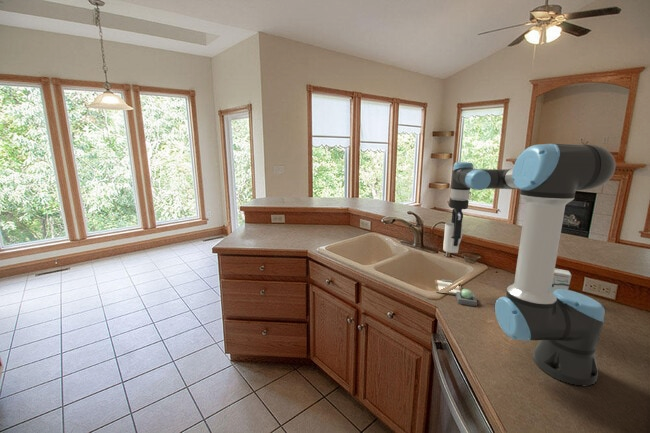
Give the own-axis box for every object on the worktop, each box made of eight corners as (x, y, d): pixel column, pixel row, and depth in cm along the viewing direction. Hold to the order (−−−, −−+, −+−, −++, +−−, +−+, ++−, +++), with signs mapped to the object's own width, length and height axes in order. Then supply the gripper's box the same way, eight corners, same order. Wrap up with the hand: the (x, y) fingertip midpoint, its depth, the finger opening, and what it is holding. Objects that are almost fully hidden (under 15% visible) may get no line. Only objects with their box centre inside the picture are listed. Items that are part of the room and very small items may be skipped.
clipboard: (463, 296, 131) (463, 293, 131) (436, 292, 134) (436, 290, 134) (459, 283, 144) (459, 281, 143) (434, 280, 147) (435, 278, 146)
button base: (476, 306, 124) (477, 301, 123) (457, 303, 126) (458, 299, 125) (473, 298, 130) (473, 293, 130) (455, 295, 132) (456, 291, 132)
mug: (451, 254, 130) (454, 227, 127) (439, 249, 136) (441, 223, 133) (467, 250, 135) (470, 224, 132) (454, 246, 140) (457, 221, 138)
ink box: (542, 295, 134) (547, 270, 131) (540, 290, 138) (545, 266, 135) (566, 300, 130) (572, 274, 127) (564, 295, 134) (569, 270, 131)
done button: (472, 300, 125) (473, 294, 125) (461, 298, 126) (462, 292, 126) (470, 295, 129) (471, 289, 128) (460, 294, 130) (461, 288, 129)
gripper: (472, 203, 119) (465, 258, 124) (465, 195, 138) (459, 243, 143) (452, 202, 121) (446, 256, 126) (447, 194, 140) (442, 241, 145)
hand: (453, 249), depth 135 cm, fingers closed on mug, 7 cm apart
